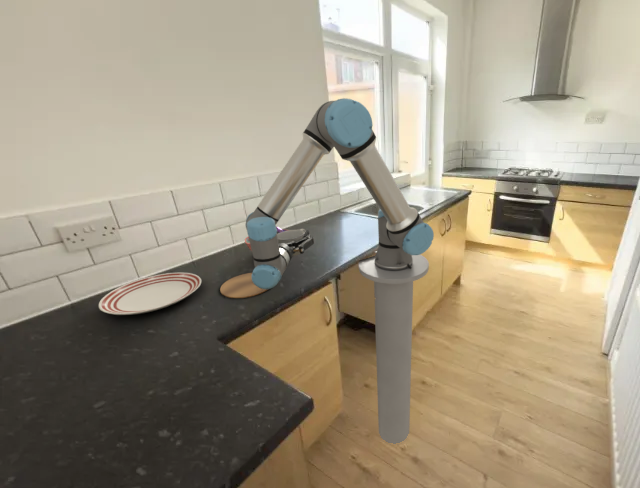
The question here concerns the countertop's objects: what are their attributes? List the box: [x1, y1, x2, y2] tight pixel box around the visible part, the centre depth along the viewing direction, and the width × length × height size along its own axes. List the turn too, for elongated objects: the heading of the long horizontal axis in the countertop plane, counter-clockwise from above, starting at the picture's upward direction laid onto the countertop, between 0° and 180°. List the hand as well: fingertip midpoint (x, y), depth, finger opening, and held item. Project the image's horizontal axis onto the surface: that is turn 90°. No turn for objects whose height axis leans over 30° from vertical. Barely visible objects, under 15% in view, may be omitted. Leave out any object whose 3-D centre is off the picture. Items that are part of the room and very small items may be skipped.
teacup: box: [277, 228, 307, 257], centre depth 120 cm, size 14×11×8 cm
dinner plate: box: [98, 272, 202, 316], centre depth 103 cm, size 27×27×3 cm
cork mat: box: [219, 272, 270, 299], centre depth 111 cm, size 18×18×1 cm
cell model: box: [244, 226, 289, 252], centre depth 134 cm, size 17×20×11 cm
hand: (293, 234), depth 122 cm, fingers closed on teacup, 11 cm apart
